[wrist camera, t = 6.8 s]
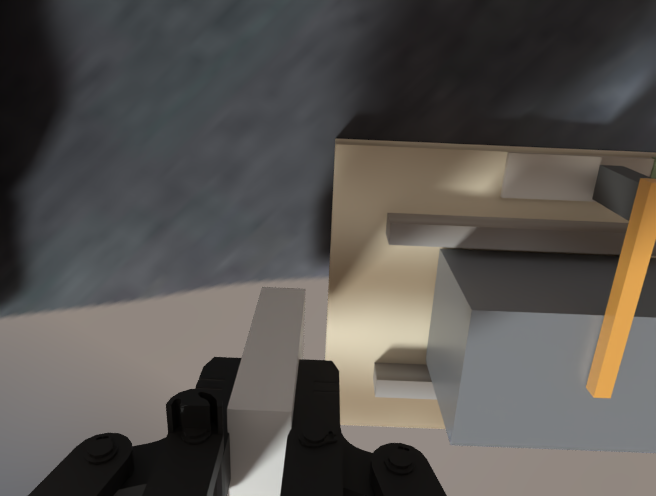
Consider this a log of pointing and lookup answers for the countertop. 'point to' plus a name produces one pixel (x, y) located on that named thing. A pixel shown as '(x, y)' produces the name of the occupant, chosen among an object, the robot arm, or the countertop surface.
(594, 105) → the countertop surface
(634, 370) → the sliding vise jaw
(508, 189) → the bench vise
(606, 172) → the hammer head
